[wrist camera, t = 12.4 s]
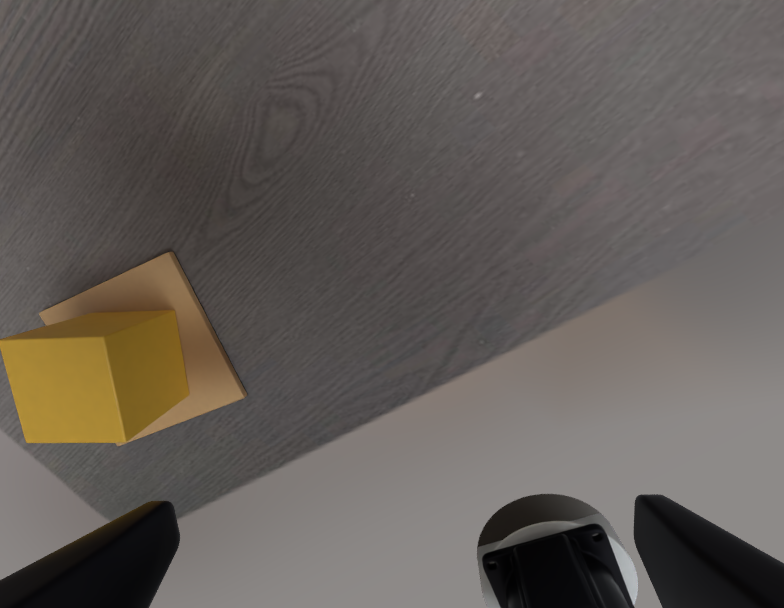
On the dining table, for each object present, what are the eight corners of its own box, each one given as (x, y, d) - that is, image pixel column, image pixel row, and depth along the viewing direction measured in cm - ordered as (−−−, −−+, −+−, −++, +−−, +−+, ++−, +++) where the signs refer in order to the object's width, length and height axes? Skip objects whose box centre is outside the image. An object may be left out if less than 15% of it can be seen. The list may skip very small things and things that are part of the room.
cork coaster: (247, 394, 21) (244, 398, 20) (122, 442, 22) (117, 446, 22) (173, 251, 19) (168, 251, 19) (45, 311, 21) (38, 313, 20)
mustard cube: (190, 395, 21) (125, 443, 16) (109, 396, 21) (24, 443, 17) (175, 309, 20) (103, 336, 15) (90, 312, 20) (-4, 339, 16)
